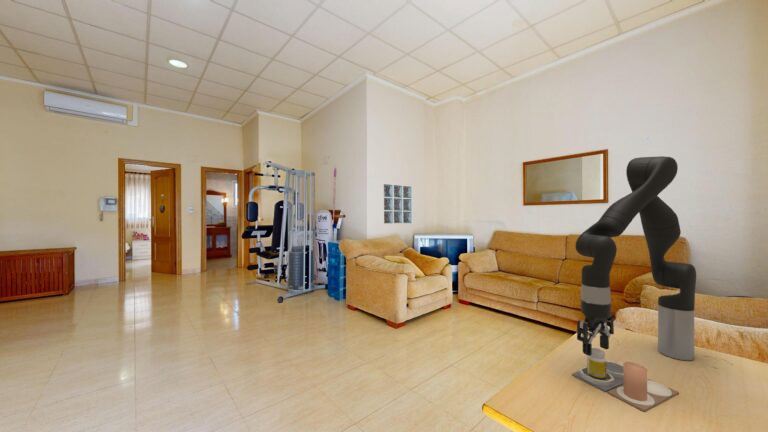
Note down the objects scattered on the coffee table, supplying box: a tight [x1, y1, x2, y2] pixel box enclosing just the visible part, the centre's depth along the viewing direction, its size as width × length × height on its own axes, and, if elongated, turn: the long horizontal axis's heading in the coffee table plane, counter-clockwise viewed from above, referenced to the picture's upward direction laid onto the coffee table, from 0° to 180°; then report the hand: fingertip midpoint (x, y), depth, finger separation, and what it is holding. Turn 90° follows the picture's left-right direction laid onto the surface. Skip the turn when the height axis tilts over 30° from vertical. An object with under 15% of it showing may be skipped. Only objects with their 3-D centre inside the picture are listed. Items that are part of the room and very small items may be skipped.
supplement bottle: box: [586, 347, 607, 381], centre depth 90 cm, size 5×5×8 cm
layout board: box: [571, 360, 680, 413], centre depth 87 cm, size 18×19×9 cm
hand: (595, 351), depth 90 cm, fingers open, 8 cm apart
